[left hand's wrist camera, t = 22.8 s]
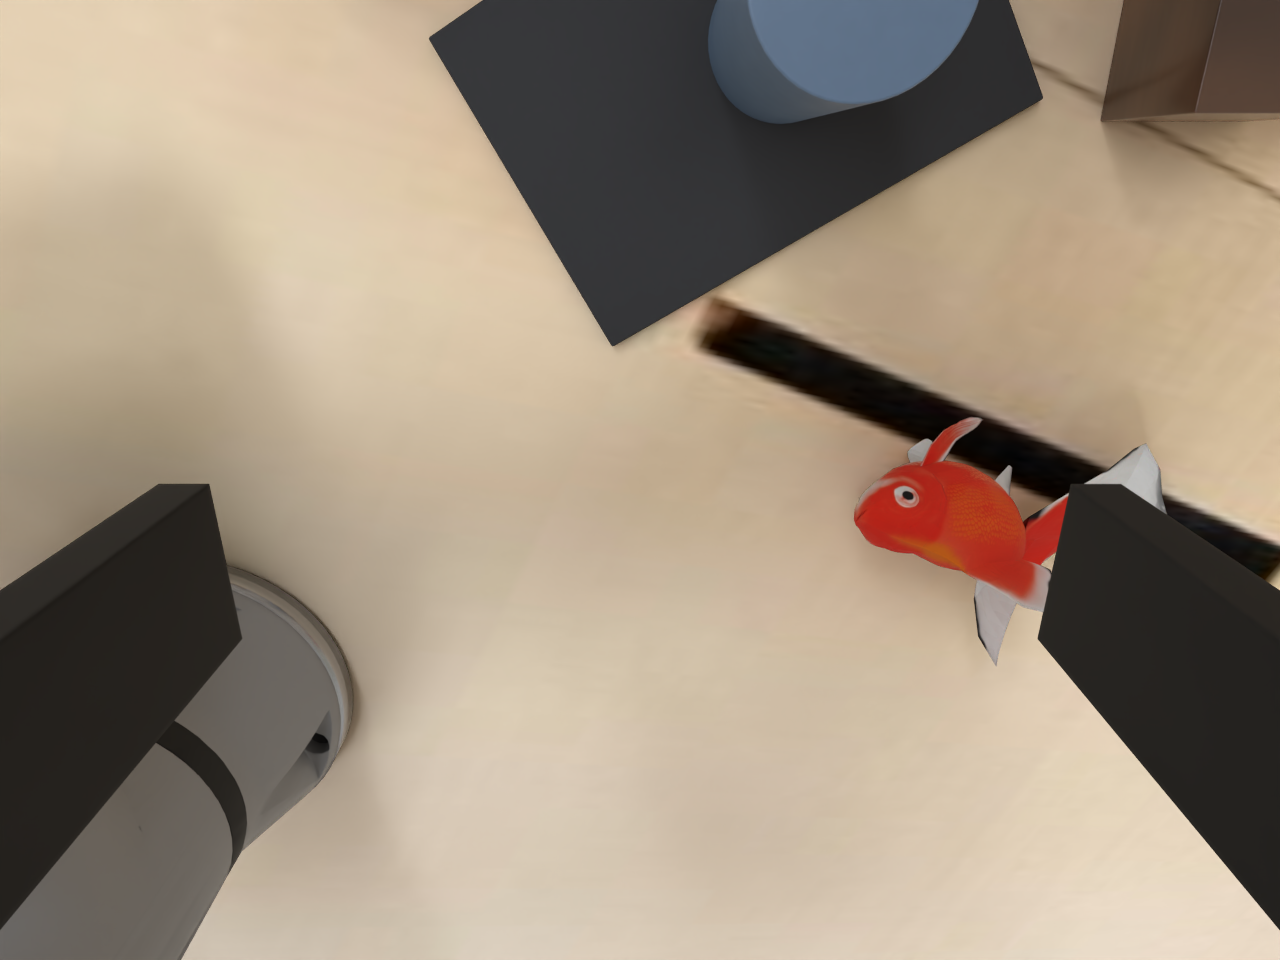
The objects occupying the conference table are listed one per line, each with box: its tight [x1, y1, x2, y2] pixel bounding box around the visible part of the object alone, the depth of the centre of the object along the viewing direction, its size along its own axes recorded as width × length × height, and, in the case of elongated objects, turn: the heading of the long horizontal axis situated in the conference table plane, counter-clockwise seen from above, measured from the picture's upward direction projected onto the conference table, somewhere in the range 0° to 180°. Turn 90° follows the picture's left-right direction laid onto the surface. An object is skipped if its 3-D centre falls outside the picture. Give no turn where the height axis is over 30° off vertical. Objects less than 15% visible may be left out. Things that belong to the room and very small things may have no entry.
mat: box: [429, 0, 1043, 346], centre depth 32 cm, size 20×14×1 cm
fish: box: [854, 417, 1167, 665], centre depth 35 cm, size 11×16×10 cm
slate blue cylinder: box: [708, 0, 979, 124], centre depth 26 cm, size 6×6×12 cm
